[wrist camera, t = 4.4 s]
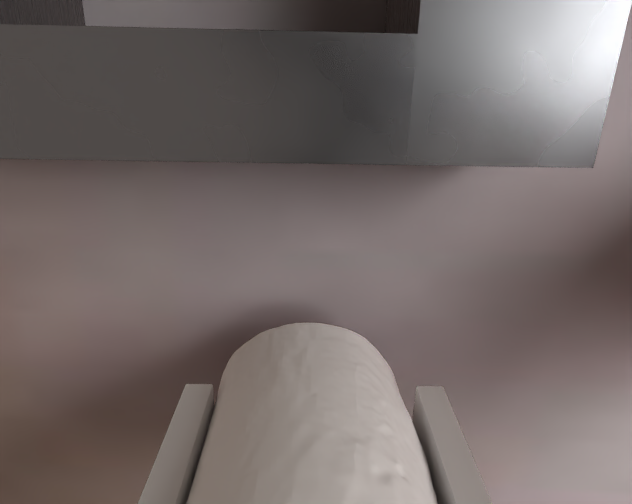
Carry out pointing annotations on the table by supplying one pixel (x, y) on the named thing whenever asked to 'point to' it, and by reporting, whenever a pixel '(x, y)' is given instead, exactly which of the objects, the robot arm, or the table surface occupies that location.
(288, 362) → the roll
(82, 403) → the table surface
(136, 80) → the hole plate
